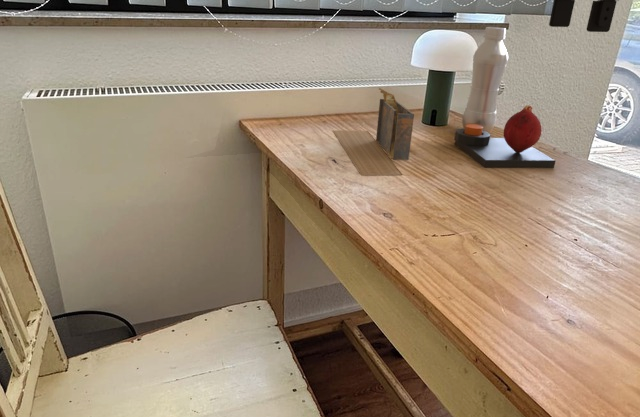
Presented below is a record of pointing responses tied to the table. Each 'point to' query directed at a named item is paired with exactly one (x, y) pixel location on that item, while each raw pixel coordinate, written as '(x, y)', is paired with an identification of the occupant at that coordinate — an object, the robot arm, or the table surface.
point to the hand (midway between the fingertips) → (577, 28)
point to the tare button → (473, 129)
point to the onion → (522, 130)
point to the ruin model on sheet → (381, 139)
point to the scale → (499, 152)
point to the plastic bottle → (486, 80)
